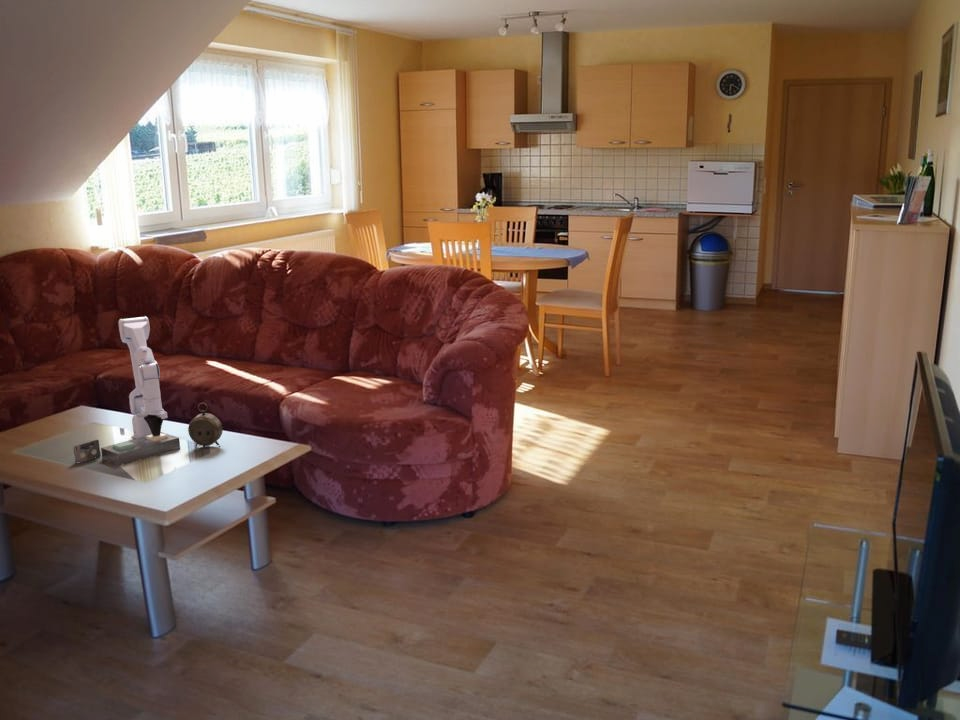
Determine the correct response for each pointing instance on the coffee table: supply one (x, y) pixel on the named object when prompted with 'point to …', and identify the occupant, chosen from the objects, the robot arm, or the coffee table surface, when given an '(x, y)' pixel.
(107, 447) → the key housing
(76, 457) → the mini dv tape
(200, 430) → the alarm clock
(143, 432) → the robot arm
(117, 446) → the teal key
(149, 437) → the white key
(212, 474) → the coffee table surface
